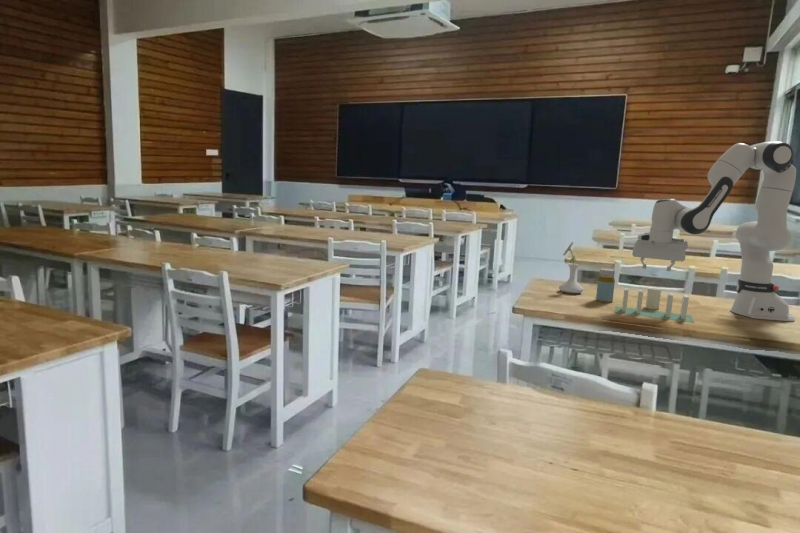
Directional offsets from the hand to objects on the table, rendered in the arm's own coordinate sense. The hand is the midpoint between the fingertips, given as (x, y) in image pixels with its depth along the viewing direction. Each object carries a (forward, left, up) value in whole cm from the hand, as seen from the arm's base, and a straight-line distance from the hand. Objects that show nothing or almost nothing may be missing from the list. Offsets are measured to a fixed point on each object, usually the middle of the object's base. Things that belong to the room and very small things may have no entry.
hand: (656, 269), depth 224 cm
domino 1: (+5, +11, -17) cm, 21 cm away
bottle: (+19, -3, -18) cm, 26 cm away
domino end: (+11, +11, -17) cm, 23 cm away
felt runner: (0, +11, -18) cm, 21 cm away
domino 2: (0, 0, -18) cm, 18 cm away
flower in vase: (+35, -15, -18) cm, 42 cm away
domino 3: (-6, +11, -17) cm, 21 cm away
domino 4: (-11, +11, -17) cm, 23 cm away
